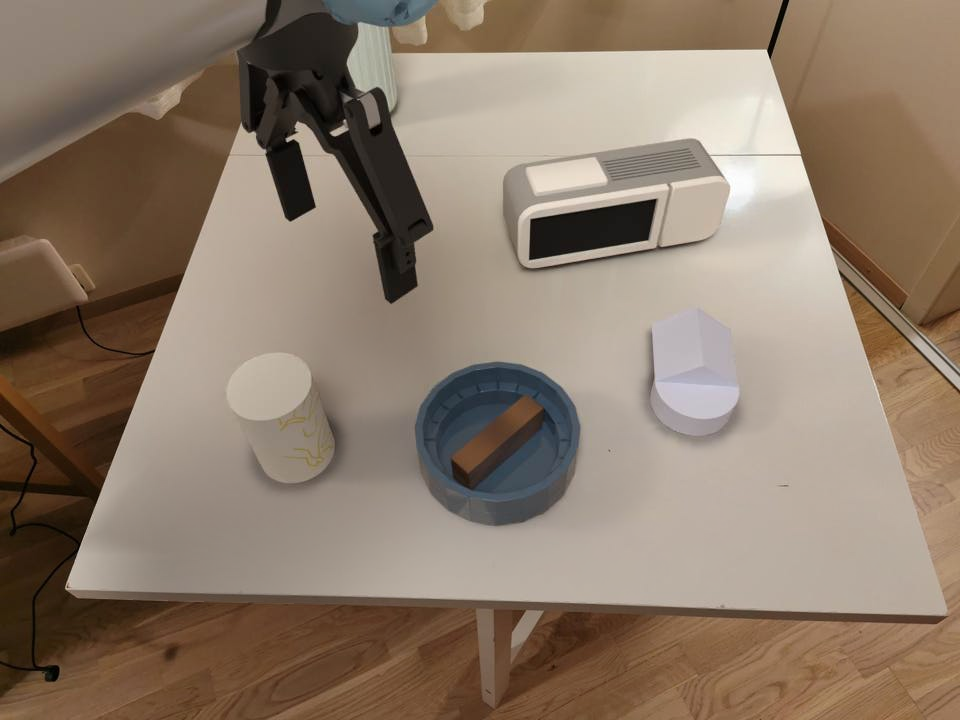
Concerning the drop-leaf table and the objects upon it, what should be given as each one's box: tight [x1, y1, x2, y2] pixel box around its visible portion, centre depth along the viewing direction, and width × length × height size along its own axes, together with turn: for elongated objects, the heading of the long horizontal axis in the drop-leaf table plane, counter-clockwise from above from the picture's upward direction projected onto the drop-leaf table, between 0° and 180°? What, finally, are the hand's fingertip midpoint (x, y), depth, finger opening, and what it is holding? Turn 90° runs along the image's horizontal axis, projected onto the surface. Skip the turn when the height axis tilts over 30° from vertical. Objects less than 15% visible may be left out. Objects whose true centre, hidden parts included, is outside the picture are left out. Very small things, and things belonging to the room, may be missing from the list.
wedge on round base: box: [649, 306, 740, 437], centre depth 78 cm, size 9×7×13 cm
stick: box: [451, 394, 543, 490], centre depth 74 cm, size 11×3×4 cm, turn 134°
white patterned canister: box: [225, 352, 336, 484], centre depth 73 cm, size 8×8×12 cm
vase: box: [347, 22, 398, 113], centre depth 109 cm, size 12×12×22 cm
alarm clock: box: [502, 137, 731, 269], centre depth 92 cm, size 27×9×12 cm, turn 102°
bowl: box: [414, 361, 581, 527], centre depth 74 cm, size 17×17×6 cm
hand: (348, 250), depth 58 cm, fingers open, 13 cm apart
